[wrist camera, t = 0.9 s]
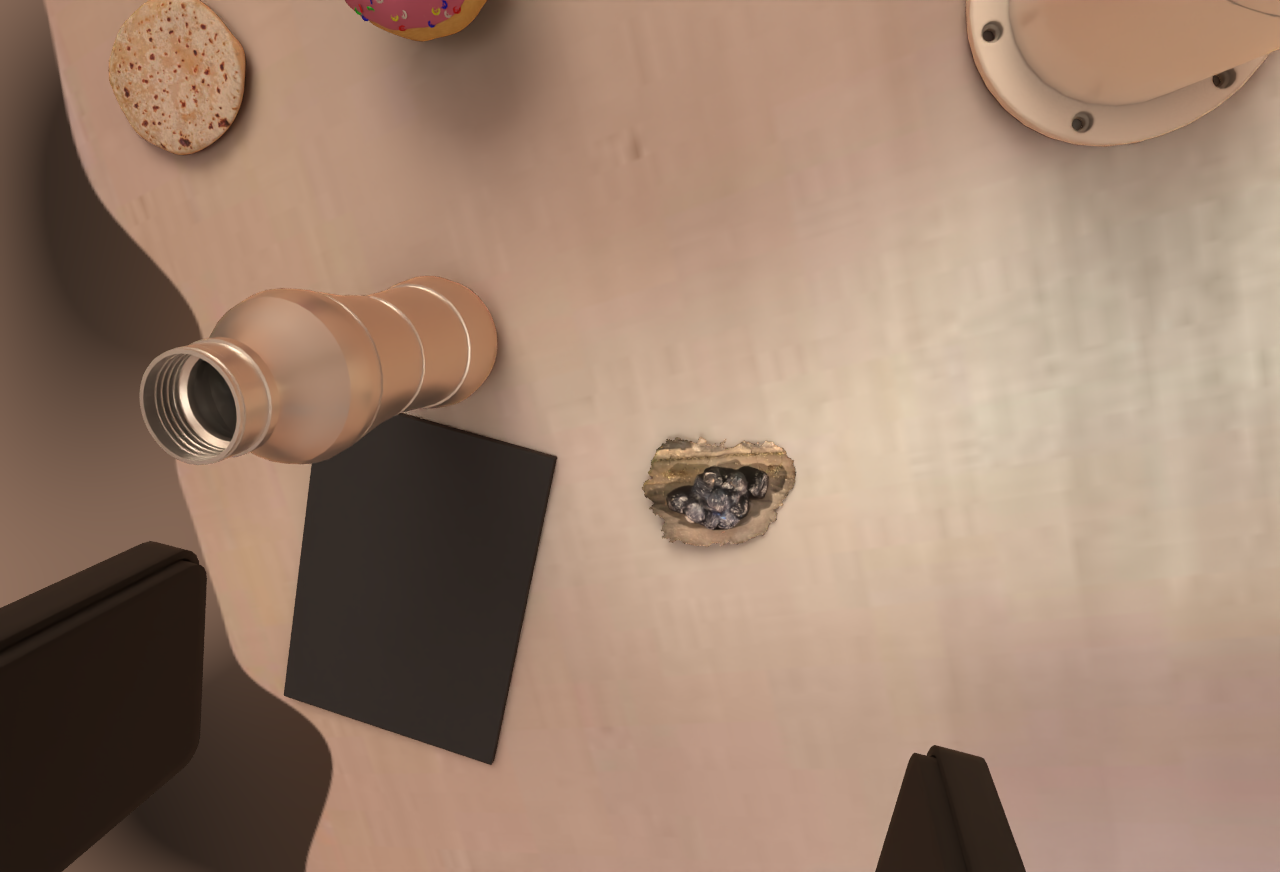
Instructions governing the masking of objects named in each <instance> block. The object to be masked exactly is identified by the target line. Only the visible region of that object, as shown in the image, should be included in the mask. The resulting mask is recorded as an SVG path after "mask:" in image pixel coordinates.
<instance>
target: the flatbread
mask: <svg viewBox="0 0 1280 872" xmlns="http://www.w3.org/2000/svg"><path fill="white" fill-rule="evenodd" d="M245 60H246V58H245V53H244V50H243V47H242V45H241V44H240V42H239V41H238V40H237V39H236V38H235V37H234V36H233V35H232V33H231V32H230V31H229V30H228V28H227V27H226V25H225V24H224V23H223V22H222V21H221V19H220V18H219V17H218V16H217V15H216V14H215V13H214V12H213V11H212V10H211V9H210V8H209V7H208V6H207V5H205V4H204V3H202V2H200V1H199V0H149V1H148V2H146V3H145V4H143V5H142V6H141V7H140V8H139V9H137V10H136V11H135V12H134V13H133V14H132V15H131V16H130V18H129V19H128V20H126V21H125V23H124V24H123V25H122V26H121V28H120V30H119V32H118V34H117V37H116V40H115V43H114V45H113V49H112V52H111V57H110V60H109V81H110V84H111V86H112V89H113V91H114V94H115V96H116V99H117V101H118V103H119V105H120V107H121V109H122V111H123V112H124V114H125V116H126V117H127V119H128V121H129V123H130V124H131V126H132V127H133V128H134V130H135V131H136V133H138V134H139V135H140V136H141V137H142V138H144V139H145V140H147V141H148V142H150V143H152V144H154V145H156V146H158V147H160V148H162V149H164V150H167V151H169V152H171V153H174V154H179V155H186V154H191V153H195V152H198V151H200V150H202V149H204V148H206V147H208V146H209V145H211V144H212V143H214V142H215V141H216V140H217V139H219V138H220V137H221V136H222V135H223V134H224V133H225V132H226V131H227V129H228V128H229V127H230V125H231V124H232V123H233V121H234V120H235V117H236V115H237V113H238V111H239V108H240V105H241V102H242V98H243V93H244V82H245Z"/></svg>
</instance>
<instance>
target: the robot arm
mask: <svg viewBox="0 0 1280 872" xmlns="http://www.w3.org/2000/svg"><path fill="white" fill-rule="evenodd" d="M966 19H967V34H968V40H969V43H970V47H971V51H972V55H973V58H974V62H975V65H976V67H977V69H978V71H979V73H980V75H981V77H982V79H983V81H984V83H985V85H986V86H987V88H988V90H989V91H990V92H991V93H992V94H993V96H994V97H995V98H996V99H997V101H998V102H999V103H1000V104H1001V106H1002V107H1003V108H1004V109H1005V110H1006V111H1008V112H1009V113H1010V114H1011V115H1013V116H1014V117H1015V118H1016V119H1018V120H1019V121H1020V122H1021V123H1023V124H1024V125H1025V126H1027V127H1029V128H1031V129H1033V130H1035V131H1037V132H1039V133H1041V134H1043V135H1045V136H1047V137H1049V138H1053V139H1056V140H1060V141H1064V142H1068V143H1072V144H1075V145H1088V146H1104V147H1106V146H1114V145H1122V144H1130V143H1137V142H1140V141H1143V140H1147V139H1151V138H1155V137H1159V136H1161V135H1164V134H1166V133H1169V132H1171V131H1174V130H1176V129H1179V128H1181V127H1184V126H1186V125H1188V124H1190V123H1192V122H1193V121H1195V120H1197V119H1198V118H1200V117H1202V116H1203V115H1205V114H1207V113H1208V112H1210V111H1212V110H1213V109H1215V108H1217V107H1218V106H1219V105H1220V104H1222V103H1223V102H1224V101H1225V100H1227V99H1228V98H1229V97H1230V96H1232V95H1233V94H1234V93H1235V92H1237V91H1238V90H1239V89H1240V88H1241V87H1242V86H1243V85H1244V84H1245V82H1246V81H1247V80H1248V79H1249V78H1250V77H1251V76H1252V74H1253V73H1254V72H1255V71H1256V70H1257V69H1258V67H1259V66H1260V65H1261V64H1262V63H1263V62H1264V60H1265V59H1266V58H1267V56H1268V54H1269V53H1271V52H1274V51H1276V50H1279V49H1280V0H967V1H966ZM985 31H991V32H992V33H993V35H994V39H993V40H992V41H991V42H987V41H985V40H984V38H983V33H984V32H985ZM1213 75H1217V76H1218V77H1219V78H1220V83H1219V85H1218V86H1217V87H1216V86H1215V85H1214V83H1213V81H1212V80H1213ZM1074 119H1079V120H1081V122H1082V127H1081V128H1080V130H1075V129H1073V127H1072V122H1073V120H1074ZM206 582H207V578H206V571H205V569H204V567H202V566H201V565H199V560H198V558H197V556H196V555H195V554H194V553H193V552H192V551H188V550H184V549H181V548H176V547H173V546H169V545H165V544H161V543H157V542H152V541H149V542H146V543H142V544H140V545H138V546H136V547H133V548H131V549H129V550H127V551H125V552H122V553H120V554H118V555H116V556H114V557H111V558H109V559H107V560H105V561H103V562H100V563H98V564H96V565H94V566H92V567H90V568H87V569H85V570H83V571H81V572H79V573H76V574H74V575H72V576H70V577H68V578H65V579H63V580H61V581H59V582H57V583H54V584H52V585H50V586H48V587H46V588H43V589H41V590H39V591H37V592H35V593H33V594H30V595H29V596H26V597H24V598H22V599H19V600H17V601H15V602H13V603H11V604H8V605H6V606H4V607H2V608H0V872H62V871H63V870H64V869H65V868H67V867H68V866H69V865H70V864H71V863H73V862H74V861H75V860H76V859H77V858H78V857H79V856H81V855H82V854H83V853H84V852H85V851H87V850H88V849H89V848H90V847H91V846H92V845H94V844H95V843H96V842H97V841H98V840H100V839H101V838H102V837H103V836H104V835H105V834H107V833H108V832H109V831H110V830H111V829H112V828H114V827H115V826H116V825H117V824H118V823H119V822H121V821H122V820H123V819H124V818H125V817H127V816H128V815H129V814H130V813H131V812H132V811H134V810H135V809H136V808H137V807H138V806H139V805H141V804H142V803H143V802H144V801H145V800H146V799H148V798H149V797H150V796H151V795H152V794H154V793H155V792H156V791H157V790H158V789H159V788H161V787H162V786H163V785H164V784H165V783H166V782H168V781H169V780H170V779H171V778H172V777H173V776H175V775H176V774H177V773H178V772H179V771H180V770H181V769H183V768H184V767H185V766H186V765H187V764H188V763H189V761H190V760H191V758H192V757H193V755H194V753H195V751H196V749H197V746H198V744H199V739H200V723H201V699H202V677H203V654H204V652H203V651H204V630H205V606H206V584H207V583H206ZM875 872H1026V870H1025V868H1024V865H1023V862H1022V859H1021V857H1020V854H1019V851H1018V848H1017V846H1016V843H1015V840H1014V837H1013V835H1012V832H1011V829H1010V826H1009V824H1008V821H1007V818H1006V815H1005V813H1004V810H1003V807H1002V804H1001V802H1000V799H999V796H998V793H997V790H996V788H995V785H994V782H993V779H992V777H991V774H990V771H989V768H988V766H987V763H986V762H985V760H984V758H981V757H978V756H975V755H971V754H967V753H963V752H959V751H955V750H952V749H948V748H944V747H940V746H936V745H934V746H932V747H931V748H930V750H929V751H928V753H927V756H925V755H921V754H917V753H914V754H912V756H911V758H910V760H909V763H908V766H907V769H906V772H905V776H904V779H903V782H902V785H901V789H900V792H899V795H898V799H897V802H896V805H895V809H894V812H893V815H892V818H891V822H890V825H889V828H888V832H887V835H886V838H885V841H884V845H883V848H882V851H881V855H880V858H879V861H878V865H877V868H876V871H875Z"/></svg>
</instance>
